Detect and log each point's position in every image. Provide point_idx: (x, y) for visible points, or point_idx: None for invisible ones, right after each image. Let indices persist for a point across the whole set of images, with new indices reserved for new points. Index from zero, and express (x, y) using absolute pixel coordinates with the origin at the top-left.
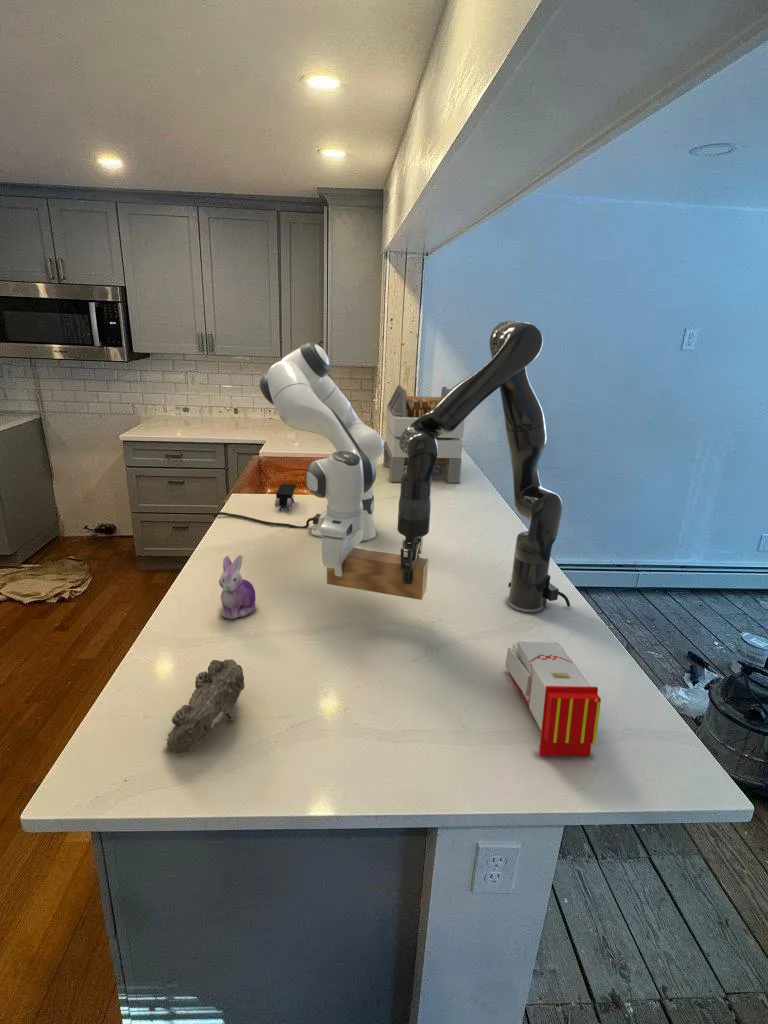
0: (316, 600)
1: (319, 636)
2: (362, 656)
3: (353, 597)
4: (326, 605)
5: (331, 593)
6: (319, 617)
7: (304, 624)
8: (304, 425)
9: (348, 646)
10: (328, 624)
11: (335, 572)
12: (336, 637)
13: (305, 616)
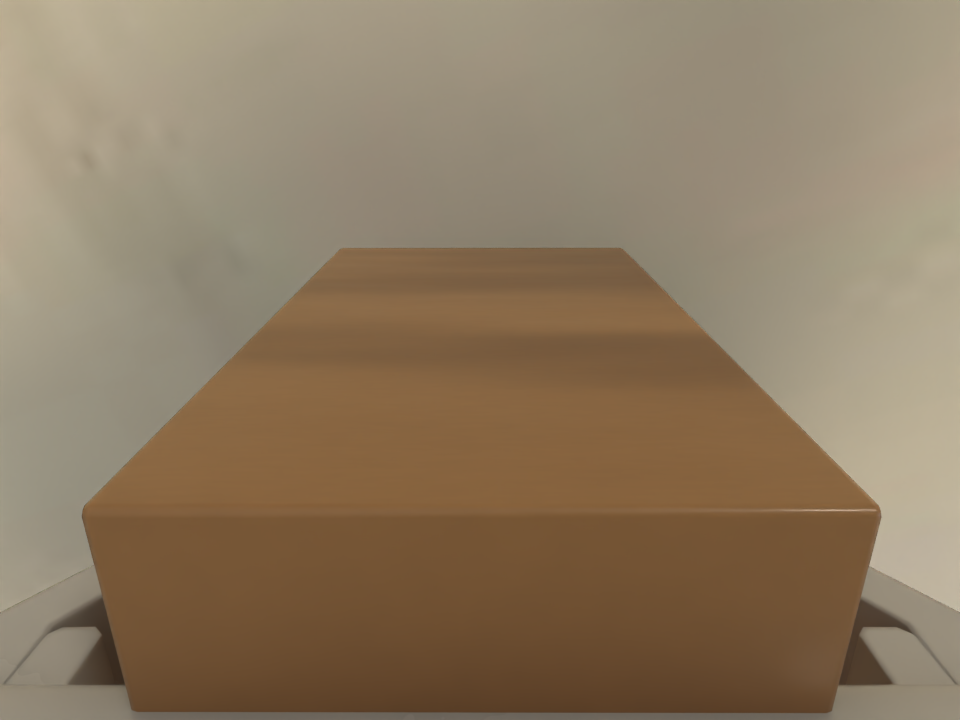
0: (585, 5)
1: (70, 265)
2: (28, 575)
3: (723, 305)
4: (525, 136)
5: (754, 95)
6: (316, 157)
7: (158, 78)
8: None
9: (74, 479)
10: (252, 266)
11: None
12: (125, 379)
13: (278, 28)
